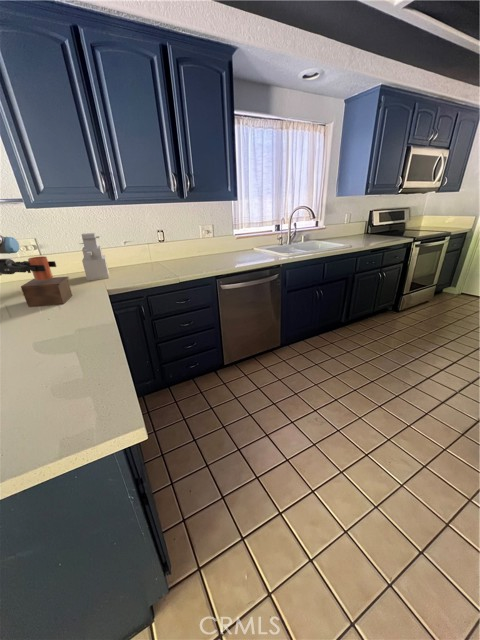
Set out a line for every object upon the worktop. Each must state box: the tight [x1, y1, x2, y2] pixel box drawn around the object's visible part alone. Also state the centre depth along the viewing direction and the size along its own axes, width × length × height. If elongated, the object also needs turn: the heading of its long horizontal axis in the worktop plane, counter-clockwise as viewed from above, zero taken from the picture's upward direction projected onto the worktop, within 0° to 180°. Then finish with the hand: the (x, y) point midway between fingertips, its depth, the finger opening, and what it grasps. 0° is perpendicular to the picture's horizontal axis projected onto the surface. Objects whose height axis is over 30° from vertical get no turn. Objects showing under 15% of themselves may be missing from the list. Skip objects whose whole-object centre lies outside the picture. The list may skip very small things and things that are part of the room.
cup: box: [27, 256, 54, 280], centre depth 130 cm, size 7×7×10 cm
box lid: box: [20, 276, 70, 289], centre depth 133 cm, size 16×14×1 cm
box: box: [20, 278, 73, 308], centre depth 135 cm, size 16×14×10 cm
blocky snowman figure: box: [79, 232, 110, 282], centre depth 173 cm, size 13×24×28 cm, turn 24°
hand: (50, 266), depth 129 cm, fingers closed on cup, 7 cm apart
